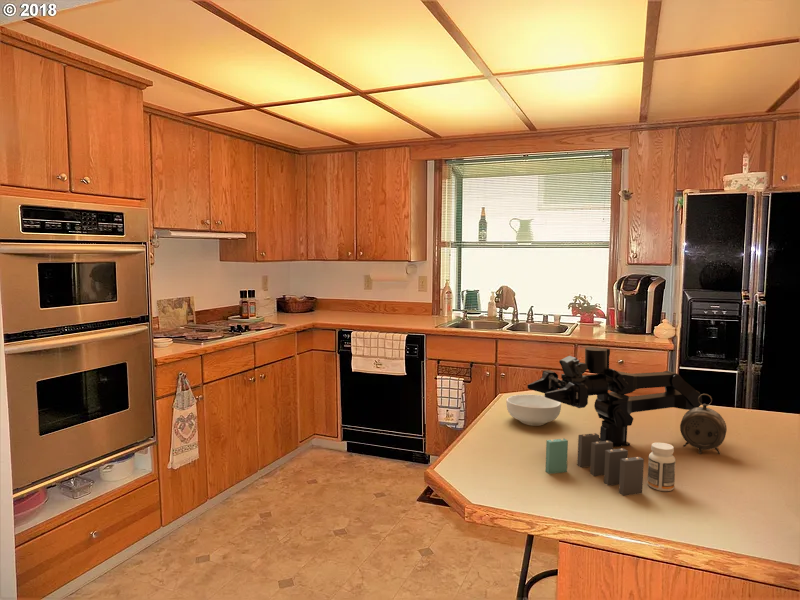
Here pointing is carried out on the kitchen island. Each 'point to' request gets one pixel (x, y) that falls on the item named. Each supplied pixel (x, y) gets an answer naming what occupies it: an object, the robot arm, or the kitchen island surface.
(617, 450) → the domino
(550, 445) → the domino
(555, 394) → the robot arm
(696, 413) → the alarm clock
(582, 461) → the domino
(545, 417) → the cereal bowl
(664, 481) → the pill bottle
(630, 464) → the domino
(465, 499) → the kitchen island surface
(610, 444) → the domino
